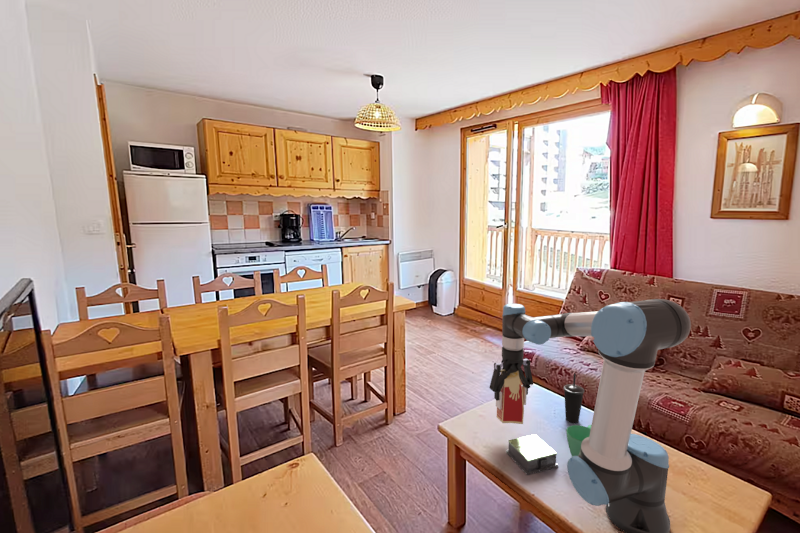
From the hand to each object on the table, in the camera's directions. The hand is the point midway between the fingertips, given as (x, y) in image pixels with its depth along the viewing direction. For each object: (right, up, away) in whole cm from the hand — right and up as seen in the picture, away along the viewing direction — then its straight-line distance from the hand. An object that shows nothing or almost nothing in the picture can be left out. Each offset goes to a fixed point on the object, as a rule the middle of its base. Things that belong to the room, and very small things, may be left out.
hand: (511, 405), depth 140 cm
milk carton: (-1, -5, +1) cm, 5 cm away
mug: (+23, -16, -7) cm, 29 cm away
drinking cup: (+29, -12, +16) cm, 35 cm away
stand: (+5, -16, -8) cm, 18 cm away
